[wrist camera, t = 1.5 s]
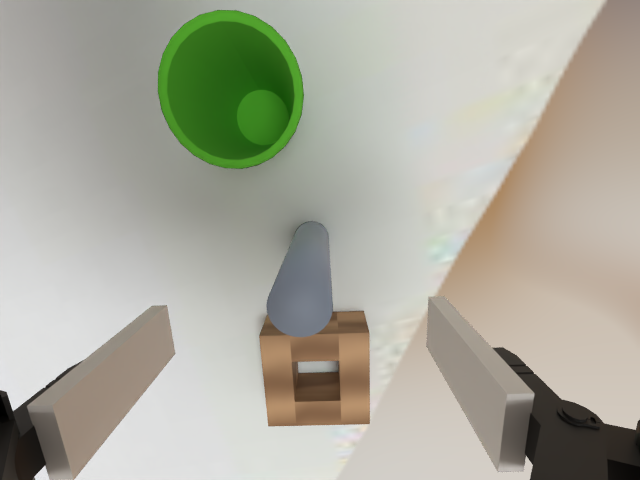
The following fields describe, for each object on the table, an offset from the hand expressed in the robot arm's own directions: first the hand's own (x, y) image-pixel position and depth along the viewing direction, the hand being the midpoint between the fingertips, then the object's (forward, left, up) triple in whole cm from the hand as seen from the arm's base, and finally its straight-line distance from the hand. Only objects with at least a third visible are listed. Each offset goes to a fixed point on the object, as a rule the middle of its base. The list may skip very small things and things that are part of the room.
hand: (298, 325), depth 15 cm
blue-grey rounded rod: (0, 0, -17) cm, 17 cm away
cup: (-12, -4, -18) cm, 22 cm away
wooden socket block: (+14, 0, -17) cm, 22 cm away
